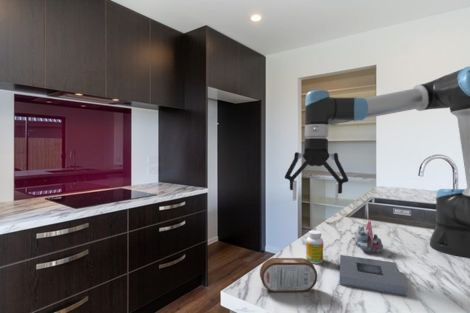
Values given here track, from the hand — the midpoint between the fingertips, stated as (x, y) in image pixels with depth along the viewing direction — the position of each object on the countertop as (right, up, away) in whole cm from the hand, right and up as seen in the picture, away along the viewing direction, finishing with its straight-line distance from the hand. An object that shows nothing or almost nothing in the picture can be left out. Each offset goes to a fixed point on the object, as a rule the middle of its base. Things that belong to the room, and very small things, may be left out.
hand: (314, 201), depth 90 cm
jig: (+13, -20, -11) cm, 26 cm away
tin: (-13, -21, -19) cm, 31 cm away
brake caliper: (+23, -20, +11) cm, 32 cm away
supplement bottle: (0, -20, +1) cm, 20 cm away
